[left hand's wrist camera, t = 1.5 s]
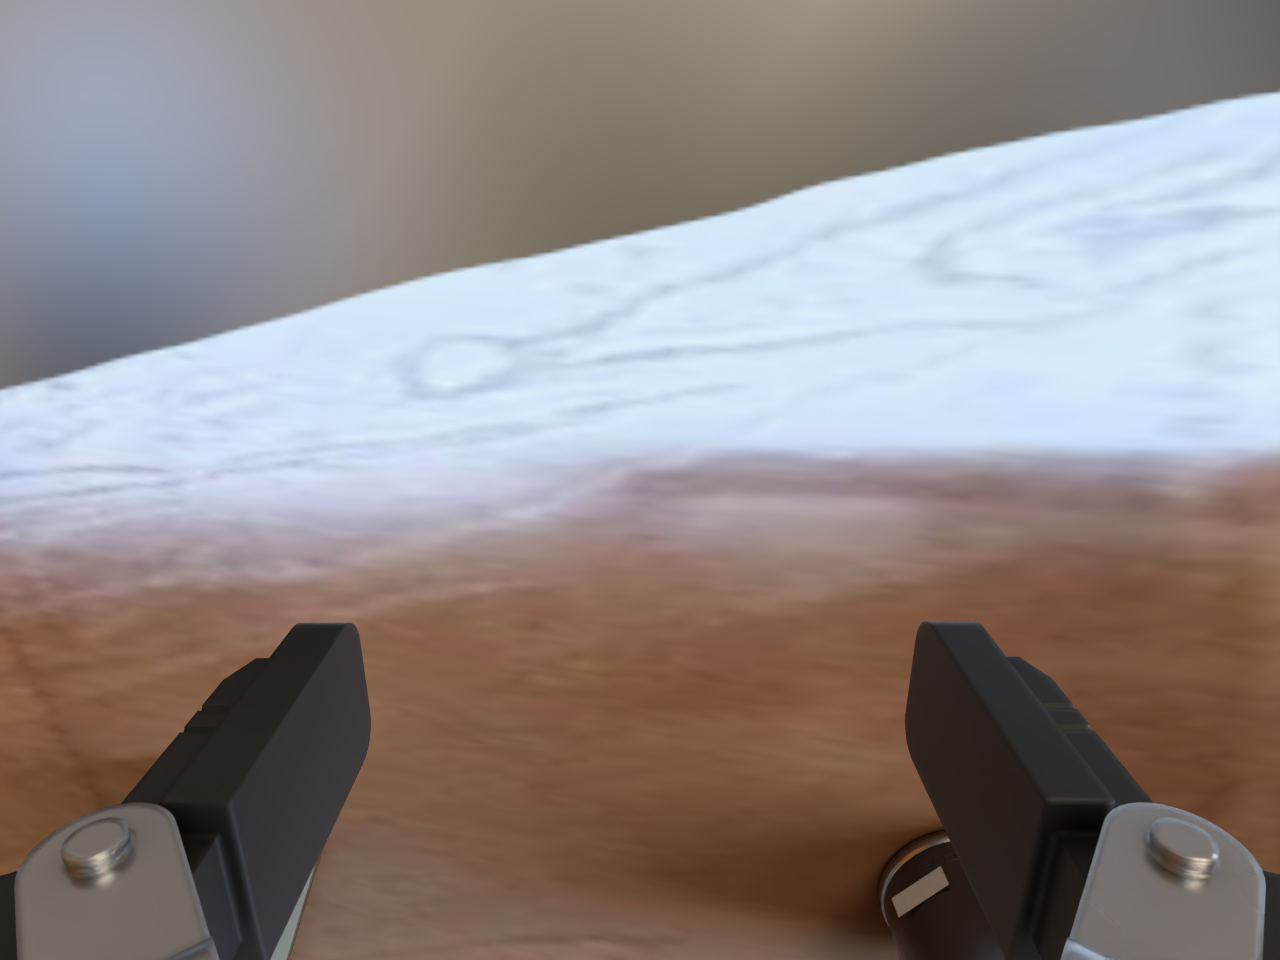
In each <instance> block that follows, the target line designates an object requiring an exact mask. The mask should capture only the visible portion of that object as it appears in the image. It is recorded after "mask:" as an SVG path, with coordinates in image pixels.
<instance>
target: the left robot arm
mask: <svg viewBox="0 0 1280 960" xmlns="http://www.w3.org/2000/svg"><path fill="white" fill-rule="evenodd" d="M184 728H185V730H184V733H179V734H178V735H177V737H176V738H175V739H174V740H173V741H172V743H171V744H170V745H169V746H168V748H167V749H166V750H165V751H164V752H163V754H162V755H161V756H160V757H159V758H158V760H157V761H156V762H155V763H154V764H153V766H152V767H151V768H150V769H149V771H148V772H147V773H146V774H145V775H144V777H143V778H142V779H141V780H140V781H139V783H138V784H137V785H136V786H135V787H134V789H133V790H132V791H131V792H130V793H129V795H128V796H127V797H126V798H125V800H124V801H123V802H122V803H121V804H118V805H114V806H110V807H106V808H103V809H100V810H96V811H93V812H91V813H88V814H86V815H84V816H81V817H79V818H77V819H75V820H73V821H71V822H69V823H68V824H66V825H64V826H63V827H61V828H59V829H58V830H56V831H55V832H53V833H52V834H50V835H49V836H48V837H47V838H45V839H44V840H43V841H42V842H40V843H39V844H38V845H37V846H36V847H35V848H34V849H33V850H32V851H31V852H30V853H29V855H28V856H27V857H26V858H25V859H24V861H23V863H22V864H21V866H20V867H19V869H18V871H17V872H13V873H10V874H6V875H2V876H0V960H270V959H271V957H272V955H273V953H274V951H275V949H276V946H277V944H278V942H279V940H280V938H281V936H282V934H283V932H284V929H285V927H286V925H287V923H288V921H289V919H290V917H291V915H292V912H293V910H294V908H295V906H296V904H297V902H298V900H299V898H300V896H301V893H302V891H303V889H304V887H305V885H306V883H307V881H308V879H309V876H310V874H311V872H312V870H313V868H314V866H315V864H316V862H317V860H318V857H319V855H320V853H321V851H322V849H323V847H324V845H325V843H326V840H327V838H328V836H329V834H330V832H331V830H332V828H333V826H334V824H335V821H336V819H337V817H338V815H339V813H340V811H341V809H342V807H343V804H344V802H345V800H346V798H347V796H348V794H349V792H350V790H351V788H352V785H353V783H354V781H355V779H356V777H357V775H358V773H359V771H360V768H361V766H362V764H363V762H364V760H365V757H366V754H367V750H368V745H369V740H370V730H371V716H370V708H369V701H368V694H367V687H366V680H365V672H364V665H363V658H362V651H361V644H360V638H359V634H358V630H357V628H356V627H355V625H354V624H352V623H298V624H296V625H295V626H294V627H293V628H292V629H291V630H290V632H289V633H288V634H287V636H286V637H285V638H284V640H283V641H282V642H281V643H280V645H279V646H278V647H277V649H276V650H275V651H274V653H273V654H272V655H271V656H270V658H256V659H254V660H253V661H251V662H250V663H248V664H247V665H245V666H244V667H242V668H241V669H239V670H238V671H236V672H235V673H233V674H232V675H230V676H229V677H227V678H226V679H224V680H223V681H222V682H221V683H220V685H219V686H218V687H217V688H216V690H215V691H214V692H213V693H212V694H211V696H210V697H209V698H208V699H207V700H206V702H205V703H204V704H203V705H202V710H201V711H197V712H196V714H195V715H194V716H193V717H192V719H191V720H190V721H189V722H188V723H187V725H186V726H185V727H184ZM905 729H906V738H907V744H908V749H909V752H910V756H911V758H912V761H913V763H914V765H915V767H916V769H917V771H918V774H919V776H920V778H921V780H922V782H923V784H924V786H925V789H926V791H927V793H928V795H929V797H930V799H931V801H932V804H933V806H934V808H935V810H936V812H937V814H938V816H939V819H940V821H941V823H942V825H943V827H944V829H945V830H944V831H940V832H936V833H933V834H930V835H927V836H925V837H922V838H920V839H918V840H916V841H914V842H913V843H911V844H909V845H908V846H906V847H905V848H904V849H902V850H901V851H900V852H899V853H898V854H897V855H896V856H895V857H894V858H893V859H892V860H891V861H890V863H889V864H888V865H887V867H886V869H885V870H884V872H883V874H882V877H881V880H880V883H879V889H878V897H879V903H880V906H881V909H882V912H883V915H884V918H885V921H886V923H887V925H888V926H889V928H890V931H891V934H892V937H893V940H894V943H895V946H896V949H897V952H898V955H899V959H900V960H1280V875H1279V874H1275V873H1271V872H1266V871H1263V870H1262V869H1261V867H1260V866H1259V864H1258V863H1257V861H1256V859H1255V858H1254V857H1253V856H1252V855H1251V853H1250V852H1249V851H1248V850H1247V849H1246V848H1245V847H1244V846H1243V845H1242V844H1241V843H1240V842H1238V841H1237V840H1236V839H1235V838H1233V837H1232V836H1231V835H1230V834H1228V833H1227V832H1225V831H1224V830H1222V829H1221V828H1219V827H1217V826H1216V825H1214V824H1212V823H1211V822H1209V821H1207V820H1205V819H1203V818H1201V817H1199V816H1196V815H1194V814H1192V813H1189V812H1187V811H1184V810H1180V809H1177V808H1174V807H1170V806H1166V805H1162V804H1155V803H1153V802H1152V800H1151V799H1150V798H1149V797H1148V795H1147V794H1146V793H1145V792H1144V791H1143V789H1142V788H1141V787H1140V786H1139V784H1138V783H1137V782H1136V781H1135V780H1134V778H1133V777H1132V776H1131V775H1130V773H1129V772H1128V771H1127V770H1126V769H1125V767H1124V766H1123V765H1122V764H1121V762H1120V761H1119V760H1118V759H1117V758H1116V756H1115V755H1114V754H1113V753H1112V751H1111V750H1110V749H1109V748H1108V747H1107V745H1106V744H1105V743H1104V742H1103V741H1102V739H1101V738H1100V737H1099V736H1098V734H1097V733H1096V732H1095V731H1091V730H1090V725H1089V723H1088V722H1087V721H1086V720H1085V719H1084V717H1083V716H1082V715H1081V714H1080V712H1079V711H1078V710H1077V709H1073V707H1072V703H1071V701H1070V700H1069V699H1068V698H1067V697H1066V695H1065V694H1064V693H1063V692H1062V690H1061V689H1060V688H1059V687H1058V686H1057V684H1056V683H1055V682H1054V681H1053V680H1052V678H1050V677H1049V676H1047V675H1046V674H1044V673H1043V672H1041V671H1040V670H1038V669H1037V668H1035V667H1034V666H1032V665H1031V664H1029V663H1028V662H1026V661H1025V660H1023V659H1021V658H1020V657H1006V656H1005V655H1004V654H1003V652H1002V651H1001V650H1000V648H999V647H998V646H997V644H996V643H995V642H994V640H993V639H992V638H991V637H990V635H989V634H988V633H987V631H986V630H985V629H984V627H983V626H982V625H981V624H980V623H978V622H923V623H922V624H921V625H920V626H919V629H918V631H917V635H916V641H915V648H914V656H913V663H912V670H911V677H910V684H909V692H908V699H907V706H906V714H905Z"/></svg>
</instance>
